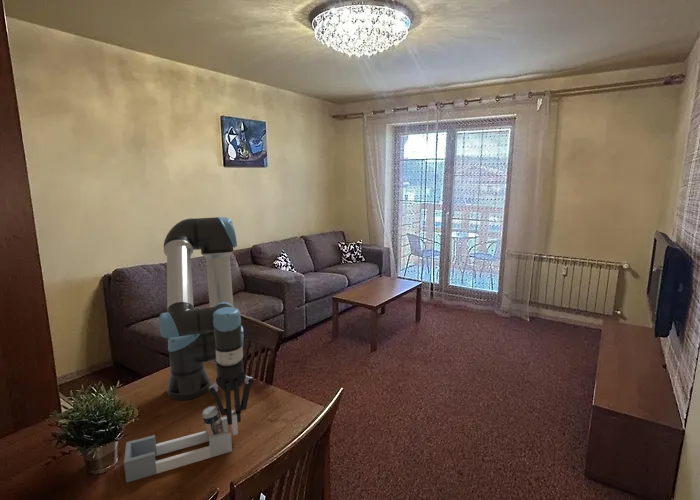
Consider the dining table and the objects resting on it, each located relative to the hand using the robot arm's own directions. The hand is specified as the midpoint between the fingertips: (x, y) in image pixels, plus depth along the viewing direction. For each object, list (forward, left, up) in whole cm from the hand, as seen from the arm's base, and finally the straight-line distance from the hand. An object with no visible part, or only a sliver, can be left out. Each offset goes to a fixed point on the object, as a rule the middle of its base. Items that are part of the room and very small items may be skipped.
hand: (234, 431), depth 119 cm
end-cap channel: (0, -15, -3) cm, 16 cm away
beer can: (0, -5, -3) cm, 5 cm away
